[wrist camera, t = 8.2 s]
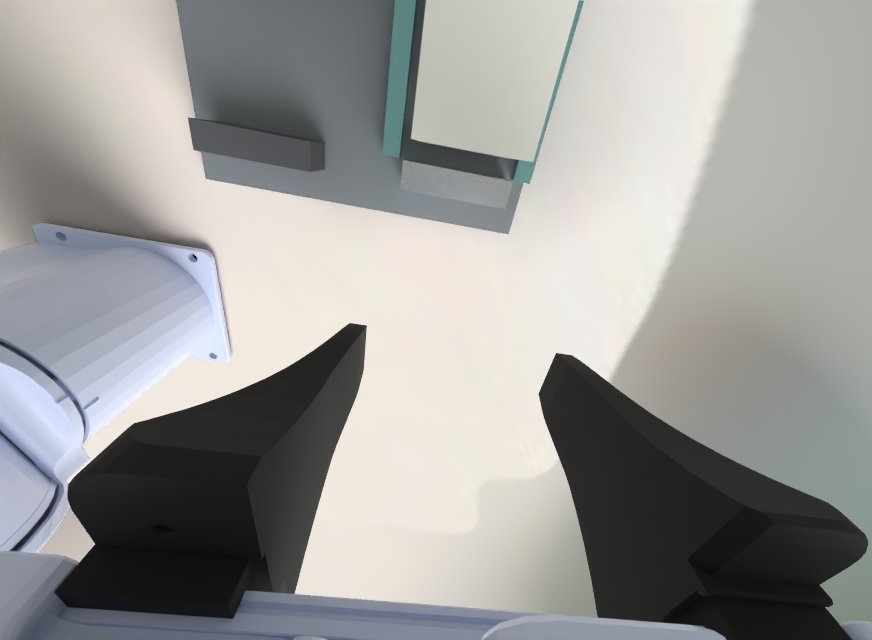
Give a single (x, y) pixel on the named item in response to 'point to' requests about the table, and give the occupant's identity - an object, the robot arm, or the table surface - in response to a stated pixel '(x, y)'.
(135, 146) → the table surface
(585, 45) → the table surface
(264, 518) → the robot arm
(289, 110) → the panel
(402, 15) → the port
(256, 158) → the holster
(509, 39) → the plug
